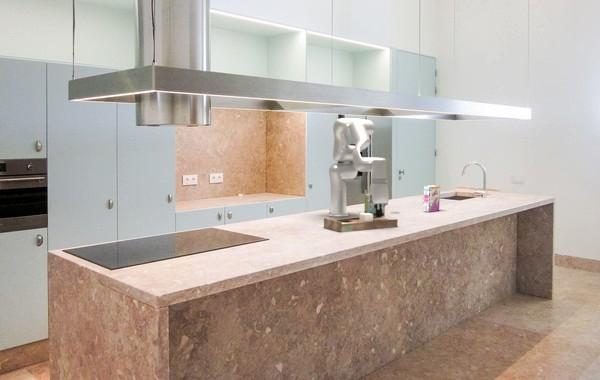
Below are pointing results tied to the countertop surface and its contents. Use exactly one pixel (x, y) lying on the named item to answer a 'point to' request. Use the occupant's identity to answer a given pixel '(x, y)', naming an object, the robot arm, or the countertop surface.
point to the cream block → (365, 217)
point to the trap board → (358, 224)
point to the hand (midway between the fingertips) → (378, 216)
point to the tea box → (370, 208)
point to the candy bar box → (431, 198)
